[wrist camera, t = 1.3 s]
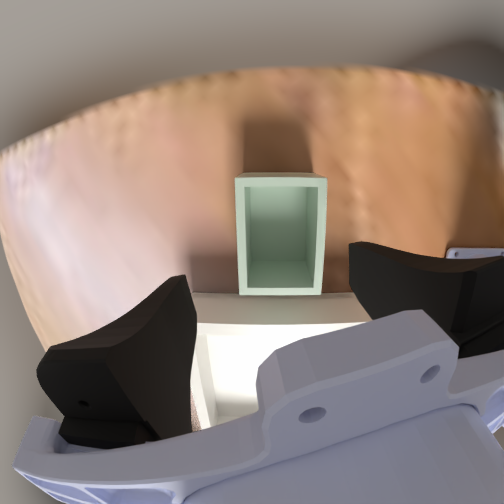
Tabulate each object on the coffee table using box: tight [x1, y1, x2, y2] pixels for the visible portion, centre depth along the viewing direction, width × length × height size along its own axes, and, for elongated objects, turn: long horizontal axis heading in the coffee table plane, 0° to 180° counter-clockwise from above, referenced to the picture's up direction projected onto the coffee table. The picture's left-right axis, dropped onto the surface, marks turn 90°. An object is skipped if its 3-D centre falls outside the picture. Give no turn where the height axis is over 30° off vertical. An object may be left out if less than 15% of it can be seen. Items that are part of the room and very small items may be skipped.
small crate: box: [235, 172, 327, 295], centre depth 18 cm, size 5×7×5 cm
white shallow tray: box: [190, 292, 372, 430], centre depth 23 cm, size 14×16×4 cm
